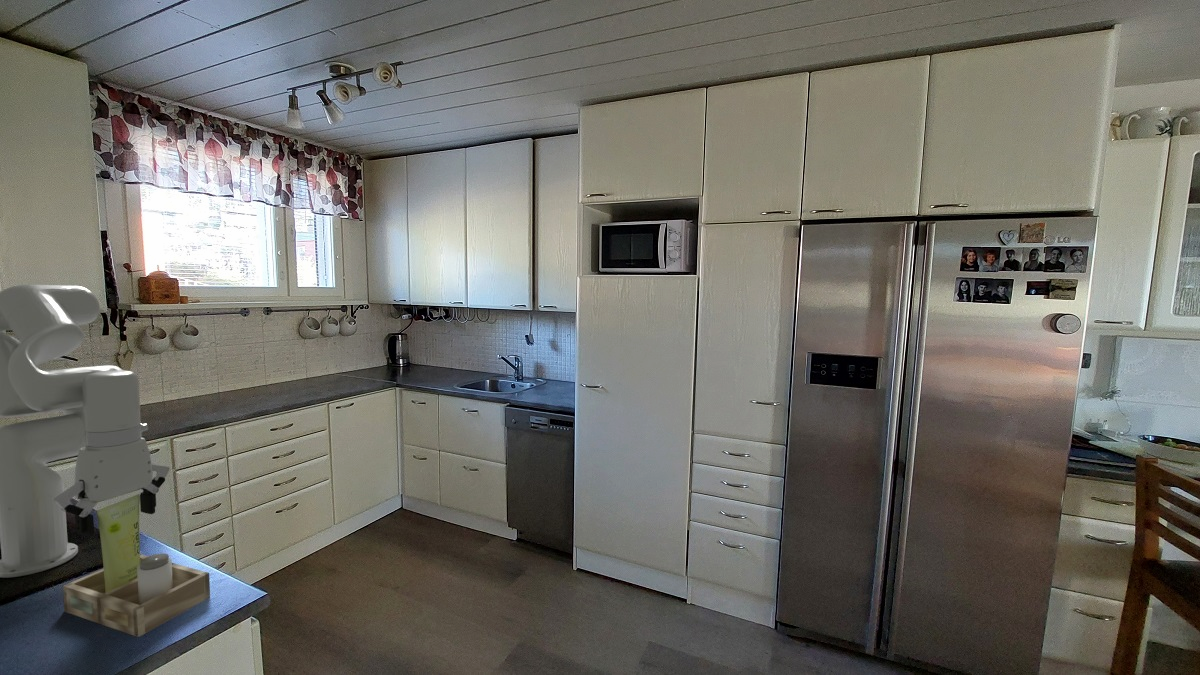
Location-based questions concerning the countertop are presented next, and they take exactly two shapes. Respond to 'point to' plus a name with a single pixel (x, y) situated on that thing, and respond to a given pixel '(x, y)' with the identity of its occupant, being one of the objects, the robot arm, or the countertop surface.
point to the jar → (154, 577)
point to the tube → (120, 541)
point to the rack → (135, 600)
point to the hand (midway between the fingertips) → (118, 523)
